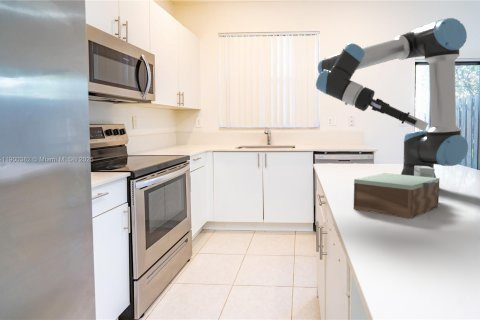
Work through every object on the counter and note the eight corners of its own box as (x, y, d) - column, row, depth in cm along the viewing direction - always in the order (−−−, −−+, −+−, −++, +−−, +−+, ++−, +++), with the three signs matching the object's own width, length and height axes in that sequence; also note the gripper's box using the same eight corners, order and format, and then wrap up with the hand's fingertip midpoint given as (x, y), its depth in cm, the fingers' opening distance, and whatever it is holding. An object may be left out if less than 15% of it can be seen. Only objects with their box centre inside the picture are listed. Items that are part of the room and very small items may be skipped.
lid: (385, 176, 139) (385, 173, 139) (444, 182, 125) (444, 178, 125) (354, 183, 124) (354, 179, 124) (417, 190, 110) (418, 186, 110)
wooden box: (384, 199, 140) (385, 176, 139) (438, 207, 127) (439, 181, 126) (353, 208, 125) (354, 183, 124) (410, 218, 112) (412, 189, 112)
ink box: (433, 203, 134) (435, 168, 133) (418, 202, 135) (419, 168, 134) (427, 198, 142) (428, 165, 141) (412, 197, 143) (414, 165, 142)
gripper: (358, 107, 142) (421, 136, 133) (349, 106, 131) (418, 138, 122) (367, 87, 140) (433, 116, 131) (360, 85, 129) (431, 116, 120)
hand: (426, 127), depth 127 cm, fingers closed
